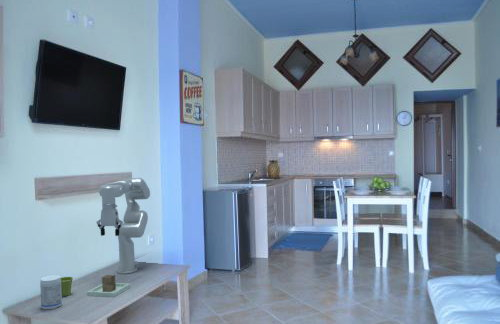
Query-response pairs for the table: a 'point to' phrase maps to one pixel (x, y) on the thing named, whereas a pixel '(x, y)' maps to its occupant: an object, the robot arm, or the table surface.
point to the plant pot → (66, 285)
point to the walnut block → (108, 283)
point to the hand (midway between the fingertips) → (110, 235)
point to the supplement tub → (51, 292)
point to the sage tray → (99, 292)
